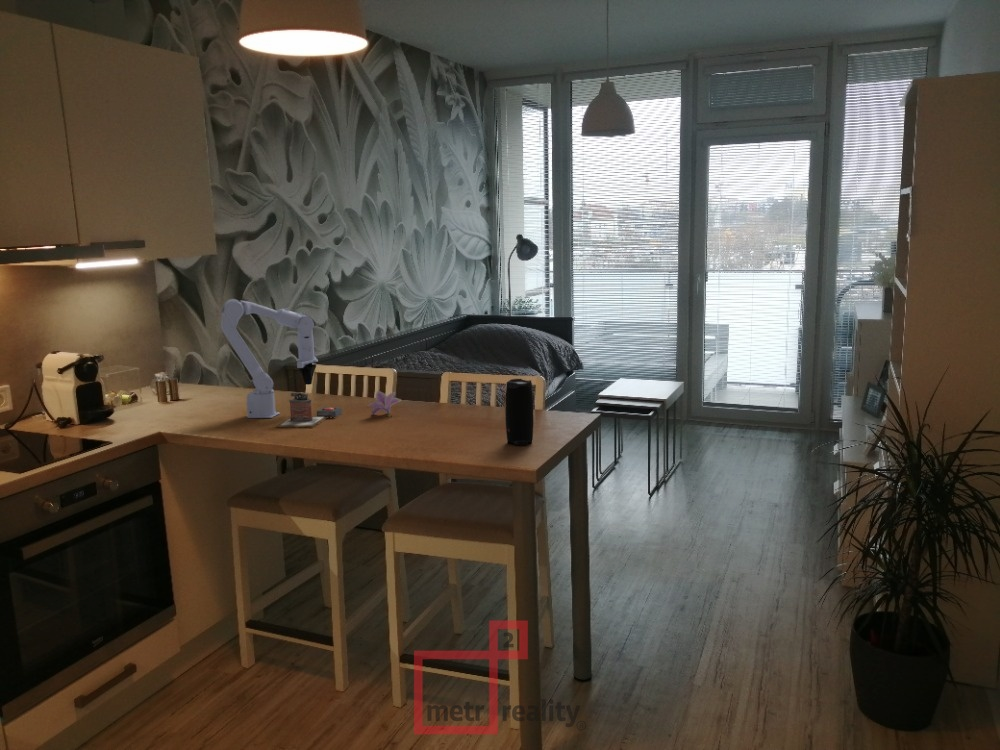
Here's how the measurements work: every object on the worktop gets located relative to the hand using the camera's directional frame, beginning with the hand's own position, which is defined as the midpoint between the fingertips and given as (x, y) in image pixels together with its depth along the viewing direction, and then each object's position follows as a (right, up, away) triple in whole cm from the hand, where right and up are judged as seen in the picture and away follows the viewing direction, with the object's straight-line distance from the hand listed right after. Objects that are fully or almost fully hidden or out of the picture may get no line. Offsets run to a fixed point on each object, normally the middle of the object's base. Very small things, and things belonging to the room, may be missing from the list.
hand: (308, 384), depth 293 cm
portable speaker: (+77, -18, -49) cm, 94 cm away
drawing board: (+2, -13, -16) cm, 21 cm away
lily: (+30, -12, -8) cm, 33 cm away
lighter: (+2, -13, -16) cm, 21 cm away
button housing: (+9, -11, -6) cm, 16 cm away
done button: (+9, -10, -7) cm, 15 cm away
